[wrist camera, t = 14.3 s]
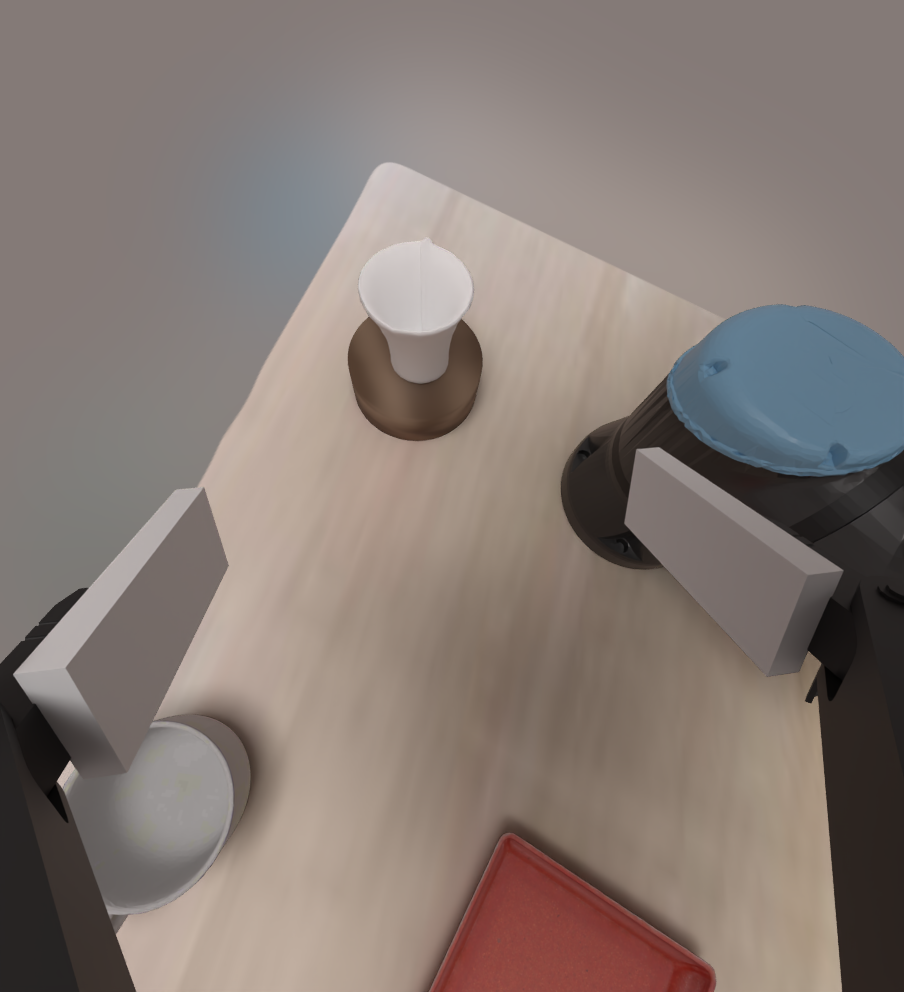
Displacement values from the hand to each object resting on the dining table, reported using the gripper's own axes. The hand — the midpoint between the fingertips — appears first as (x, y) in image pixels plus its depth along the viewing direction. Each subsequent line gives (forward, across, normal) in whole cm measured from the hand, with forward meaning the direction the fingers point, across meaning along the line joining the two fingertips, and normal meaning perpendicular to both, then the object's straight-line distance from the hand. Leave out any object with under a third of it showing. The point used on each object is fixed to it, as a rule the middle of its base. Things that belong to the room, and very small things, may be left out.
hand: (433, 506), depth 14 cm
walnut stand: (+37, +2, -5) cm, 37 cm away
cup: (+33, +2, -2) cm, 33 cm away
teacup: (+12, -20, -31) cm, 38 cm away
